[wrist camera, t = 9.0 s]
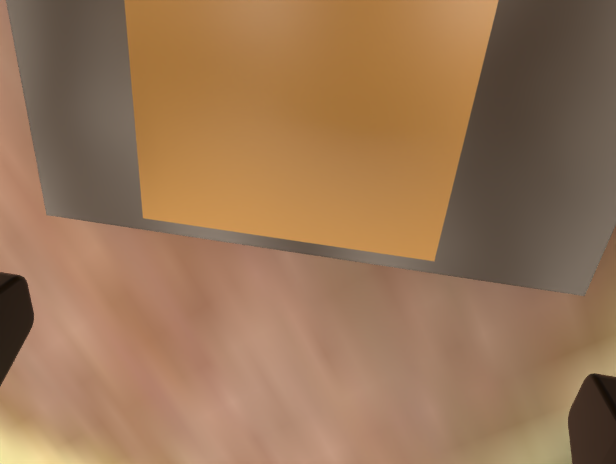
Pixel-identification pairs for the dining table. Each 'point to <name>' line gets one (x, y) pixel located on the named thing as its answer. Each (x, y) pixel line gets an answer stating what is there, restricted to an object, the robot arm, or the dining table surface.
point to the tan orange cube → (306, 115)
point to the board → (471, 168)
